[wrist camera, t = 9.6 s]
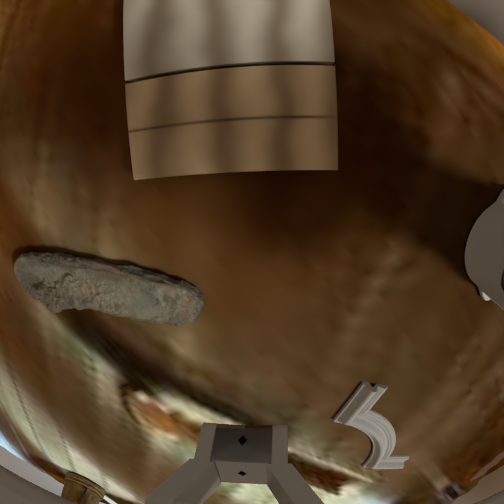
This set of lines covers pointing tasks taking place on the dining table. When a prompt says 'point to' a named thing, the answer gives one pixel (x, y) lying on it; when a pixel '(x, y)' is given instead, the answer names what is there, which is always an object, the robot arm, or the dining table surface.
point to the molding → (372, 426)
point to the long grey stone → (107, 288)
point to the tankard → (81, 490)
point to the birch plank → (223, 35)
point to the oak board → (234, 121)
